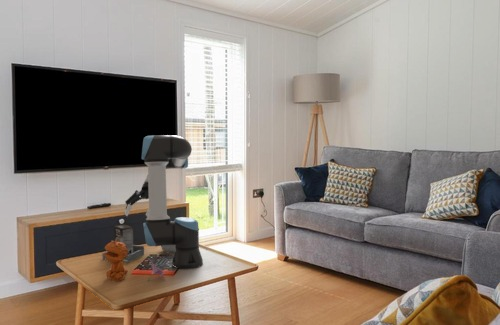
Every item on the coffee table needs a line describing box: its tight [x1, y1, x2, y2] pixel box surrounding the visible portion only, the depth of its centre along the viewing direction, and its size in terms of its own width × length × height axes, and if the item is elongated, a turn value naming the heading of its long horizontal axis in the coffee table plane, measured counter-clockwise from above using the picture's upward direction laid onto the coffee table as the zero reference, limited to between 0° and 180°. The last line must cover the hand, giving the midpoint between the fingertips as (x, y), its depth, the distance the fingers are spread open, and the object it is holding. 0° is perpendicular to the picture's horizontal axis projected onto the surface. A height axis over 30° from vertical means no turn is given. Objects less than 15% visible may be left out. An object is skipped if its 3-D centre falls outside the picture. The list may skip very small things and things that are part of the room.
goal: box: [101, 244, 145, 263], centre depth 232 cm, size 16×14×5 cm
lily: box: [147, 257, 167, 283], centre depth 196 cm, size 12×12×10 cm
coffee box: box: [113, 224, 134, 259], centre depth 231 cm, size 9×6×16 cm
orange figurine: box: [102, 240, 129, 282], centre depth 198 cm, size 11×11×18 cm
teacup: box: [160, 245, 175, 254], centre depth 244 cm, size 14×11×8 cm
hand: (136, 215), depth 243 cm, fingers open, 13 cm apart
